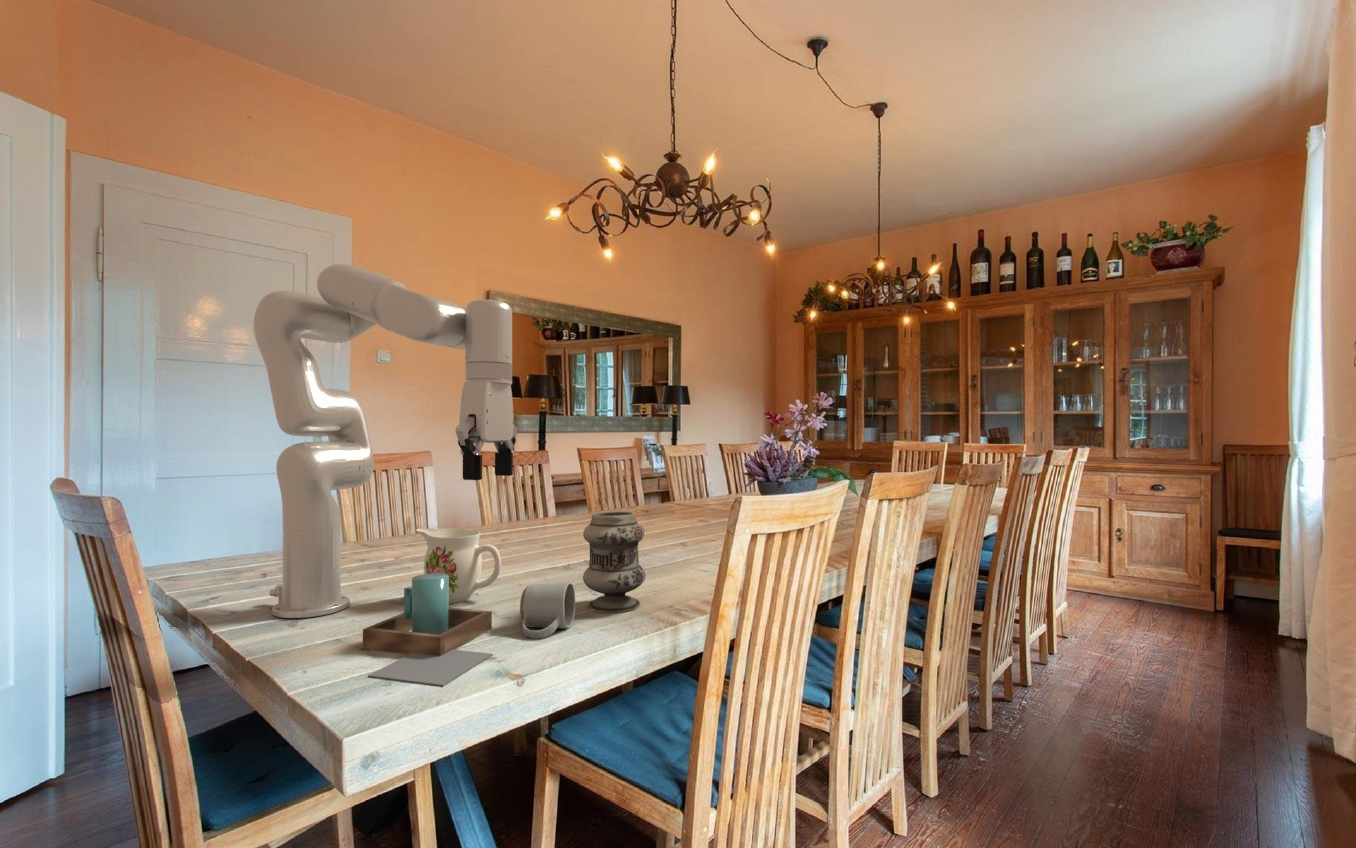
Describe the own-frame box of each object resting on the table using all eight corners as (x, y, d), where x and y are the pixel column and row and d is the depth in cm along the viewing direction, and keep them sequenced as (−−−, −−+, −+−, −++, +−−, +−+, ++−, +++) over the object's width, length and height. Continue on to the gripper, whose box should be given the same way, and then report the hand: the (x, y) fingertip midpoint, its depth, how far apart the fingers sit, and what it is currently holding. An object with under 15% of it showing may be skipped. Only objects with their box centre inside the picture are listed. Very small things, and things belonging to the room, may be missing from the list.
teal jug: (455, 634, 105) (455, 574, 105) (434, 645, 100) (434, 582, 100) (417, 630, 107) (417, 571, 107) (394, 641, 102) (394, 579, 102)
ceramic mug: (531, 619, 114) (531, 576, 114) (576, 620, 113) (576, 577, 113) (511, 639, 103) (511, 593, 103) (560, 641, 103) (560, 594, 102)
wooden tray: (362, 648, 98) (362, 629, 98) (421, 622, 112) (421, 605, 112) (440, 657, 95) (440, 637, 95) (491, 629, 108) (491, 611, 108)
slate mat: (368, 676, 87) (368, 675, 87) (424, 647, 99) (424, 646, 99) (443, 686, 84) (443, 684, 84) (492, 655, 96) (492, 653, 96)
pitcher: (488, 608, 120) (488, 536, 120) (400, 604, 123) (401, 533, 123) (511, 593, 131) (511, 527, 131) (430, 590, 134) (430, 525, 134)
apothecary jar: (611, 594, 131) (611, 507, 131) (657, 603, 124) (658, 511, 124) (569, 607, 121) (569, 513, 121) (617, 618, 114) (617, 519, 114)
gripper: (496, 379, 115) (495, 473, 115) (437, 371, 98) (437, 481, 98) (533, 378, 113) (533, 474, 113) (480, 370, 97) (480, 482, 96)
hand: (488, 477), depth 106 cm, fingers open, 9 cm apart
